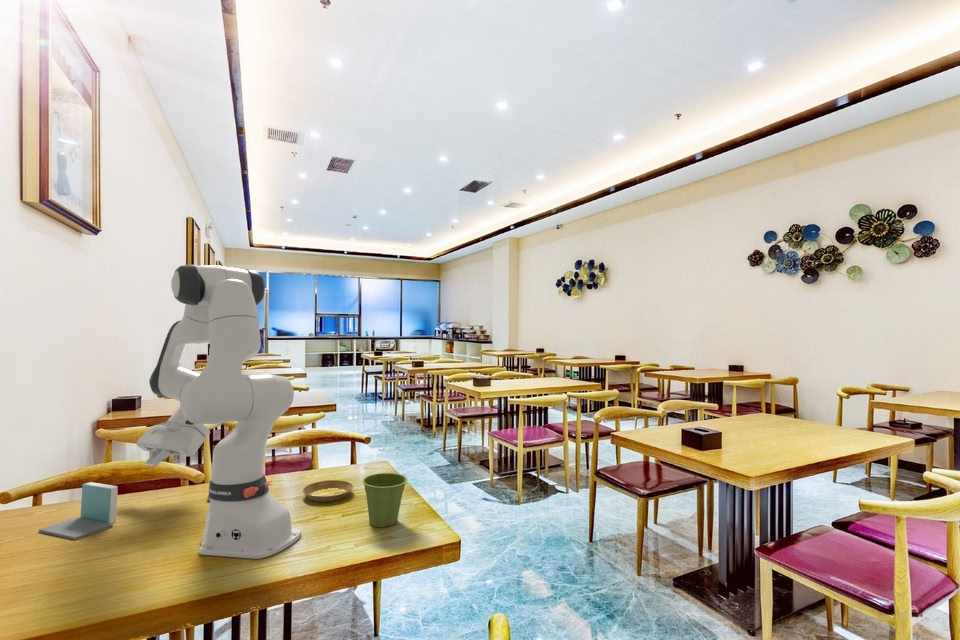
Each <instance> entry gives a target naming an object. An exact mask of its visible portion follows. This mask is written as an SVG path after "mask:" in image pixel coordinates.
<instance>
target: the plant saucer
mask: <svg viewBox="0 0 960 640" xmlns="http://www.w3.org/2000/svg"><path fill="white" fill-rule="evenodd" d="M328 488H338V489H344V490H346V491H347V492H345V493H342V494H338V495H333V496H312V495H310V494H311V493H313V492H315V491H318V490H322V489H328ZM353 488H354V485H353V483H351V482H349V481H347V480H346V481H345V480H340V479H339V480H338V479H337V480H336V479H335V480H334V479H333V480H332V479H331V480H330V479H329V480H328V479H327V480H321V481H316V482H313V483H310V484H308V485H305V486H304V488H302V492H303V494H304V495H305V497H307V498H308V499H309V500H310V499H311V501H312V500H314V501H313V502H316V501H322V502H321V503H326V501H331V502H335V501H334V500H336V501H339V500H342V499H344V498H346V497H347V496H348V495H349V493H351V491H352V490H353ZM343 497H344V498H343ZM341 498H342V499H341Z"/></svg>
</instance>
